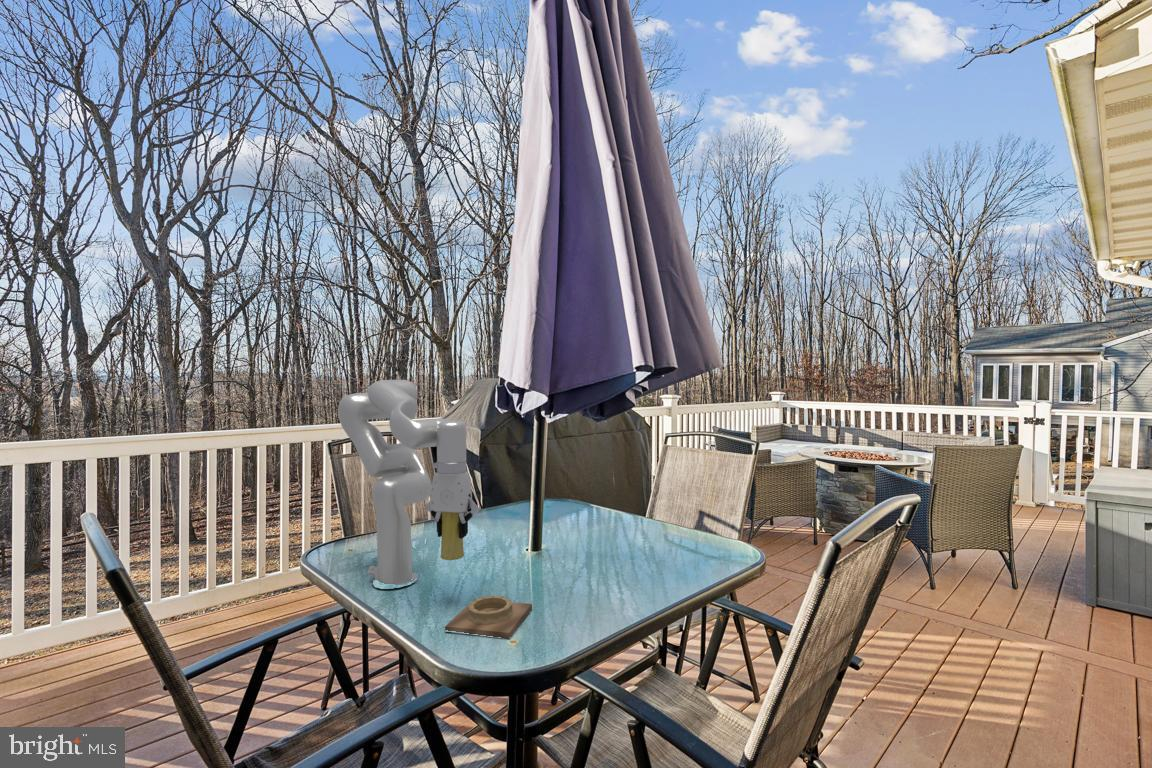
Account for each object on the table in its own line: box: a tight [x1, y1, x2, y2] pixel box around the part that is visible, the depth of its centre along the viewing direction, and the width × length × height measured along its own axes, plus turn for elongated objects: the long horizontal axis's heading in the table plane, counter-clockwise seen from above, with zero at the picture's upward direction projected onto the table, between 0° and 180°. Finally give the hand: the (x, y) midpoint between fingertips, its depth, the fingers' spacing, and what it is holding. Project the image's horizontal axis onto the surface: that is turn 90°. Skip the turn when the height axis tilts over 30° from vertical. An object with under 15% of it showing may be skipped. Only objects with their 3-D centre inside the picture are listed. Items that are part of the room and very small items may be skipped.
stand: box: [444, 595, 533, 640], centre depth 131 cm, size 16×16×4 cm
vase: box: [440, 512, 465, 561], centre depth 141 cm, size 6×6×14 cm
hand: (452, 535), depth 141 cm, fingers closed on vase, 5 cm apart
